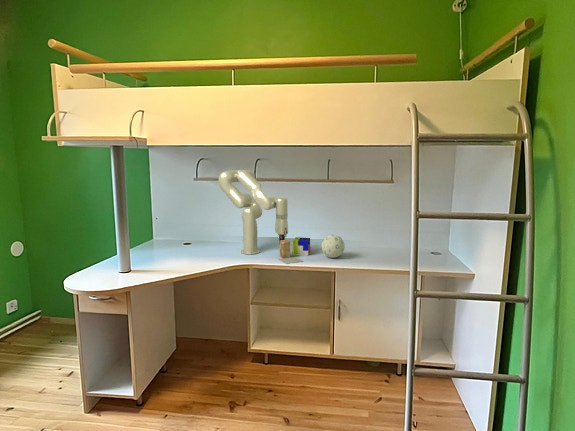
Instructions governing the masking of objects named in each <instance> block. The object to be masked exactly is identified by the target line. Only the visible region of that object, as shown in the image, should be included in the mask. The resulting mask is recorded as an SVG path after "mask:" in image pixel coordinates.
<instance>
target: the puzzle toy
mask: <svg viewBox="0 0 575 431" xmlns="http://www.w3.org/2000/svg"><path fill="white" fill-rule="evenodd" d="M310 252H311V238H310V237H301V236H296V237H295V238H294V239H293V240H292V255H293V256H308V257H309V254H310Z"/></svg>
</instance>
